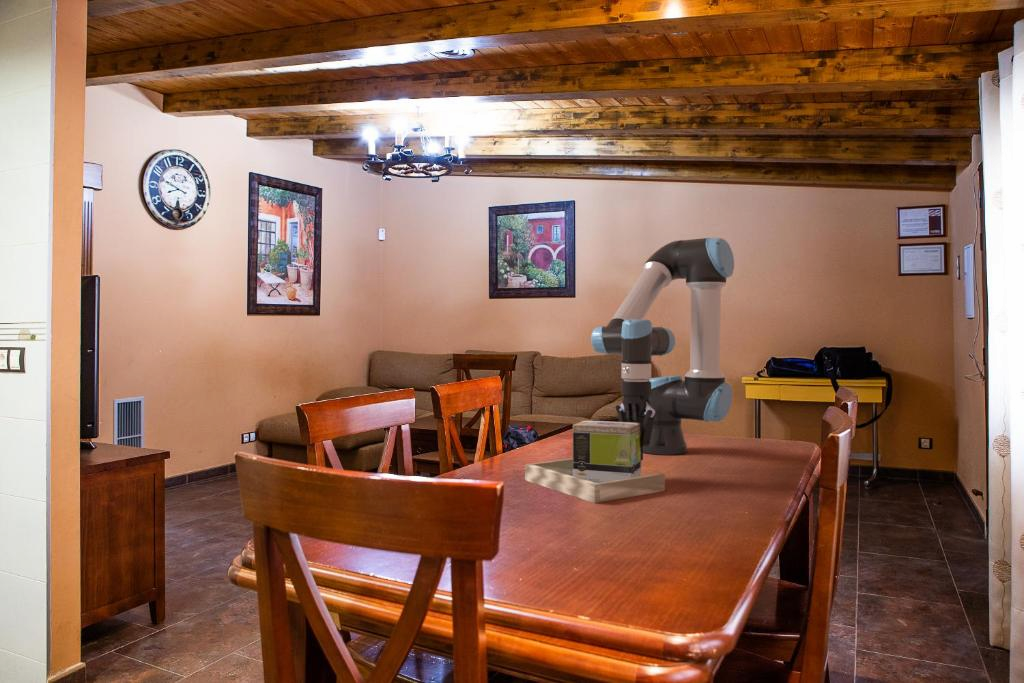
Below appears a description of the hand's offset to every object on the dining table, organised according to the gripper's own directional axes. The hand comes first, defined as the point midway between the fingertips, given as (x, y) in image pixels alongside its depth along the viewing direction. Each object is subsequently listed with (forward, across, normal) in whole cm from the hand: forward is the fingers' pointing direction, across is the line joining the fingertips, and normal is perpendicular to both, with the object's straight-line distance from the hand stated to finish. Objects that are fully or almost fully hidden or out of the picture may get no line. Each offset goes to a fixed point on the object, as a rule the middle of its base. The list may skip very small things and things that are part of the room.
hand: (635, 472), depth 182 cm
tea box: (+2, -1, -9) cm, 9 cm away
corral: (+2, 0, -13) cm, 13 cm away
